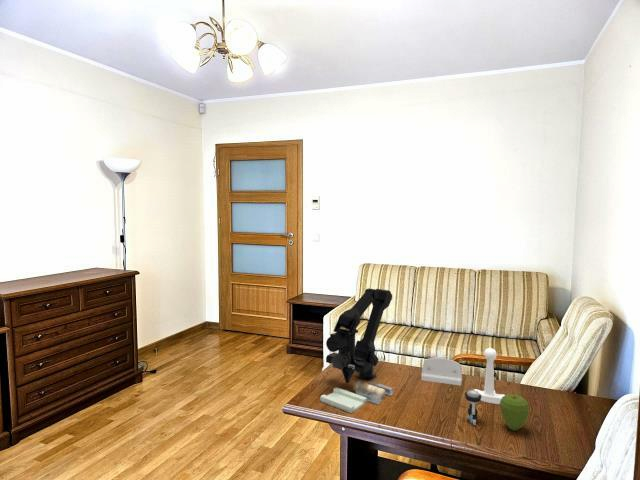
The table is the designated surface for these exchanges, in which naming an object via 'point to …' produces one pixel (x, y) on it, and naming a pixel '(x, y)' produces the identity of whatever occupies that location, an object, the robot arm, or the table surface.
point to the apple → (514, 411)
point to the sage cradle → (344, 400)
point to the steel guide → (373, 397)
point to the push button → (473, 404)
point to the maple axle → (369, 388)
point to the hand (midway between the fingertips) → (347, 382)
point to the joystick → (490, 379)
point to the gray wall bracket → (442, 371)
